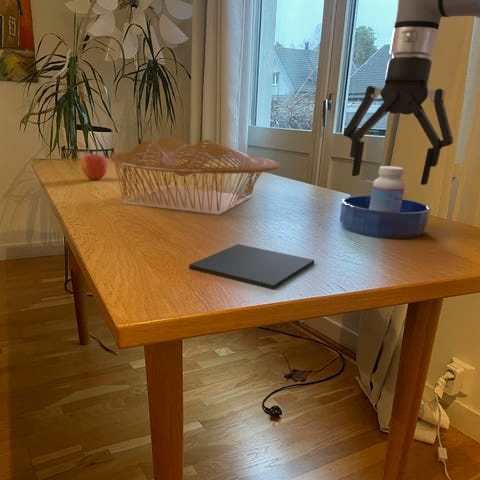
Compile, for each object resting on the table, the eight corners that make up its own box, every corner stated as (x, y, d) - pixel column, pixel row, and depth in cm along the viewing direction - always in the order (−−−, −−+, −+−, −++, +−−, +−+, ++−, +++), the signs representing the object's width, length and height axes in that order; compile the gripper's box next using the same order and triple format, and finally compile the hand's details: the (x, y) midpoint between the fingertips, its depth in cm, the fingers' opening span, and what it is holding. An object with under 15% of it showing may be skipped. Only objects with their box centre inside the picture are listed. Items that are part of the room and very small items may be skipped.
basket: (251, 226, 95) (255, 153, 89) (80, 204, 106) (73, 138, 100) (291, 196, 126) (296, 141, 120) (156, 182, 137) (155, 131, 131)
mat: (314, 263, 75) (314, 259, 74) (273, 289, 64) (273, 285, 63) (237, 247, 81) (238, 243, 81) (188, 268, 70) (188, 264, 70)
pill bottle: (396, 229, 94) (407, 170, 90) (365, 225, 96) (374, 167, 91) (398, 223, 99) (408, 167, 95) (368, 219, 101) (377, 164, 97)
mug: (393, 210, 117) (397, 176, 109) (366, 231, 114) (368, 197, 106) (369, 197, 121) (372, 164, 113) (343, 217, 118) (343, 184, 110)
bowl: (432, 227, 101) (437, 203, 99) (414, 244, 87) (420, 217, 85) (354, 214, 109) (357, 192, 107) (327, 229, 95) (330, 204, 93)
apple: (76, 178, 137) (74, 149, 134) (98, 176, 142) (96, 148, 139) (91, 182, 133) (89, 152, 129) (113, 180, 138) (111, 150, 134)
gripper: (337, 54, 88) (322, 173, 97) (483, 56, 77) (452, 190, 86) (350, 58, 94) (335, 170, 103) (488, 60, 82) (458, 185, 92)
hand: (388, 179), depth 94 cm, fingers open, 13 cm apart
